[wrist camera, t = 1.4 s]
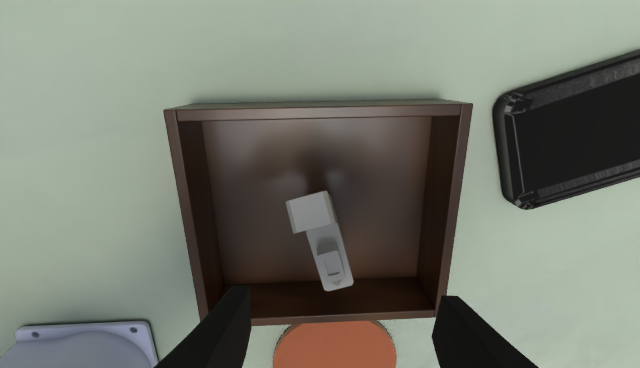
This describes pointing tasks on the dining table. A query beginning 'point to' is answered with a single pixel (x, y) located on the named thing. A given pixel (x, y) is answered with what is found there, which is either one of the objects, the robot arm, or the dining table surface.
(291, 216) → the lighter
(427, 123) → the tray
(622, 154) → the phone
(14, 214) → the dining table surface
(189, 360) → the robot arm
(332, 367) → the coaster
